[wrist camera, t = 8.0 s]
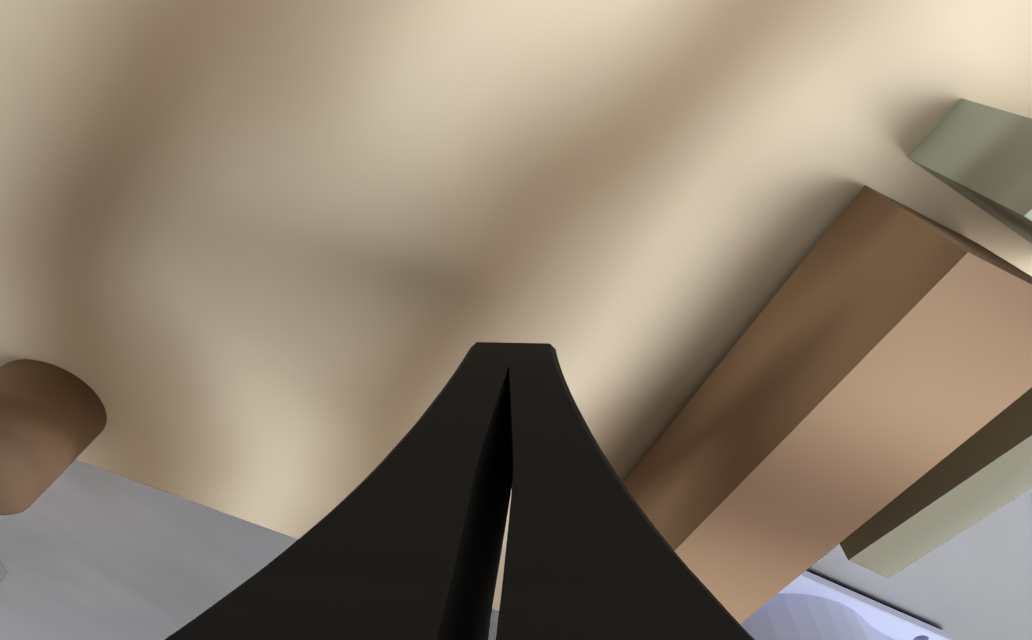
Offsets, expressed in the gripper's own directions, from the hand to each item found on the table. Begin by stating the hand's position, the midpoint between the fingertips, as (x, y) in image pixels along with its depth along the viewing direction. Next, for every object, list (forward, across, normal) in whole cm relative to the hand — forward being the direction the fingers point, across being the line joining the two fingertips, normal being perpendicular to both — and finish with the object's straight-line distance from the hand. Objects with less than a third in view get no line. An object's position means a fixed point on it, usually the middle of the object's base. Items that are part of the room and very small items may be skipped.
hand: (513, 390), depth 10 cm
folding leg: (+3, -5, +3) cm, 7 cm away
